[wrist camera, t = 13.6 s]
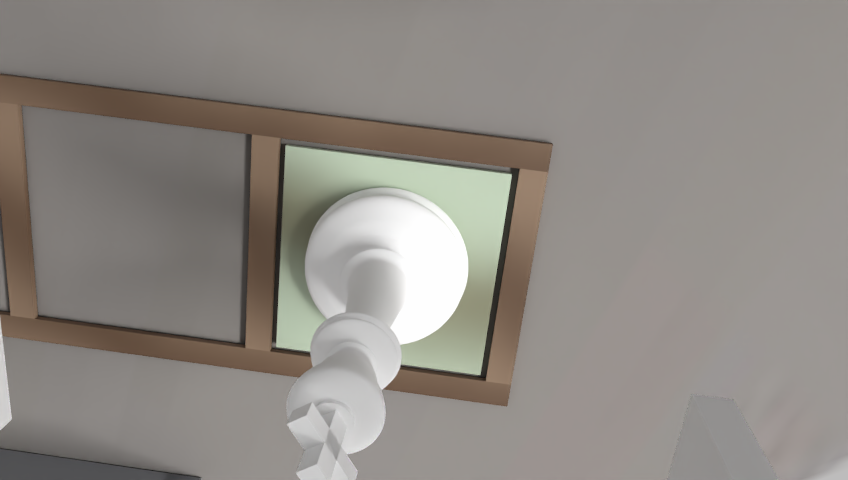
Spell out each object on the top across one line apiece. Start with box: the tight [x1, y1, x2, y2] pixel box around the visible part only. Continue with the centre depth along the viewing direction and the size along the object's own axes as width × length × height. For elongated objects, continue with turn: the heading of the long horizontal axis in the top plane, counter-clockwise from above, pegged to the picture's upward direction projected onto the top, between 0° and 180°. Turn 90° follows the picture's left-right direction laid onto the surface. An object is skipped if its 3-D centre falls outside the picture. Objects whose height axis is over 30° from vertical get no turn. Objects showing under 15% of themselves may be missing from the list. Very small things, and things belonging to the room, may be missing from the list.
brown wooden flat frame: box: [0, 74, 553, 406], centre depth 22 cm, size 9×24×1 cm, turn 84°
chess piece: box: [286, 187, 468, 480], centre depth 17 cm, size 5×5×10 cm
